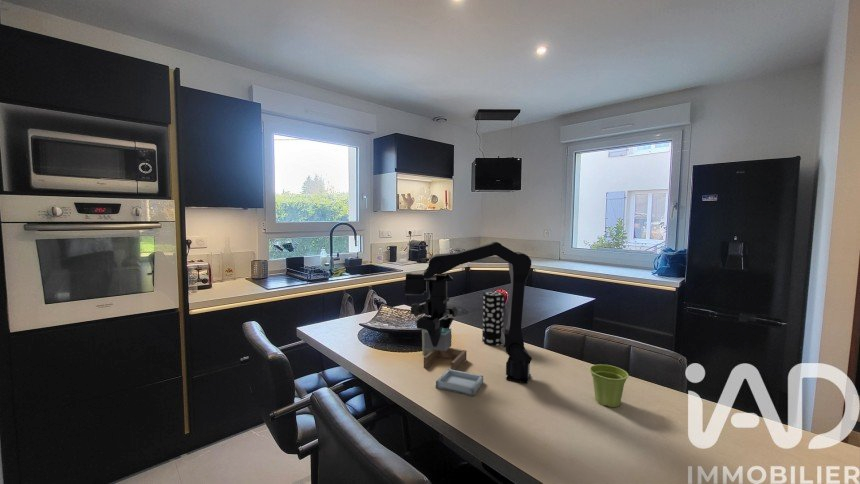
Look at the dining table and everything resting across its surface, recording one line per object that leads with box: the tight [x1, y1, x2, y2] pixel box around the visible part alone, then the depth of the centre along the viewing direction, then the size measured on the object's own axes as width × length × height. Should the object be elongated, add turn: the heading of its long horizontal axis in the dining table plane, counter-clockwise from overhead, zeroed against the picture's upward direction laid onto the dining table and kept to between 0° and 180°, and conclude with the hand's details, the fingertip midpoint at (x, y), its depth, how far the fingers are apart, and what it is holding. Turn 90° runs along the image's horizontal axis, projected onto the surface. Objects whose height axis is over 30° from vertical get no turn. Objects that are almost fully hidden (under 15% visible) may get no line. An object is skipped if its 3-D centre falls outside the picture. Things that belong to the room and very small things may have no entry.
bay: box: [423, 347, 467, 371], centre depth 121 cm, size 11×12×4 cm
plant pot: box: [589, 363, 629, 408], centre depth 96 cm, size 9×9×9 cm
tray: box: [435, 368, 484, 397], centre depth 106 cm, size 12×10×2 cm
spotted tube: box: [481, 291, 505, 347], centre depth 142 cm, size 8×8×20 cm
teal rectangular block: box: [425, 327, 452, 351], centre depth 111 cm, size 7×5×6 cm
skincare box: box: [421, 329, 433, 355], centre depth 131 cm, size 6×4×12 cm
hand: (438, 343), depth 111 cm, fingers closed on teal rectangular block, 5 cm apart
